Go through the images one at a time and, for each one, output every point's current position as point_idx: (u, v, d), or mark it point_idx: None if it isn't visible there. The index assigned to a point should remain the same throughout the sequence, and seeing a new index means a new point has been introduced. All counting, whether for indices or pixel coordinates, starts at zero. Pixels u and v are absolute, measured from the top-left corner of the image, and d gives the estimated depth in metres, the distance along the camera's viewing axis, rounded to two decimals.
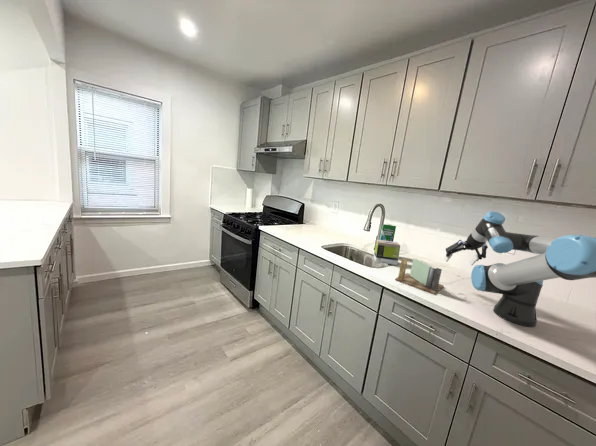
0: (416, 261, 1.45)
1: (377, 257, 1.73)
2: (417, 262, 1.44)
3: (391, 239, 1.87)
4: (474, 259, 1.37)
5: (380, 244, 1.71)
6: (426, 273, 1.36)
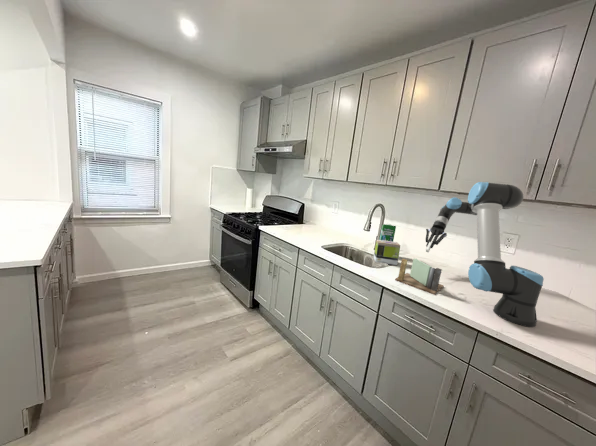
0: (416, 261, 1.45)
1: (377, 257, 1.73)
2: (417, 262, 1.44)
3: (391, 239, 1.87)
4: None
5: (380, 244, 1.71)
6: (426, 273, 1.36)
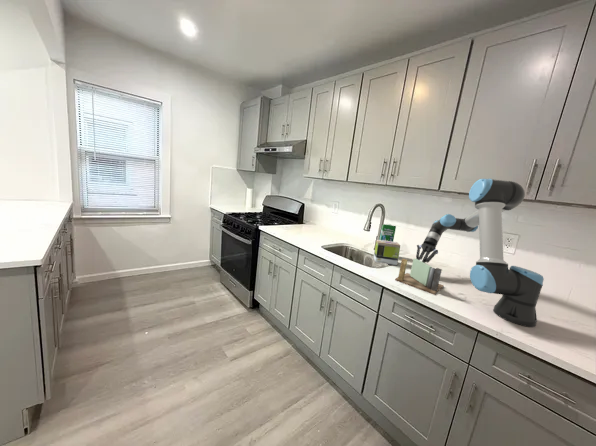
0: (416, 261, 1.45)
1: (377, 257, 1.73)
2: (417, 262, 1.44)
3: (391, 239, 1.87)
4: None
5: (380, 244, 1.71)
6: (426, 273, 1.36)
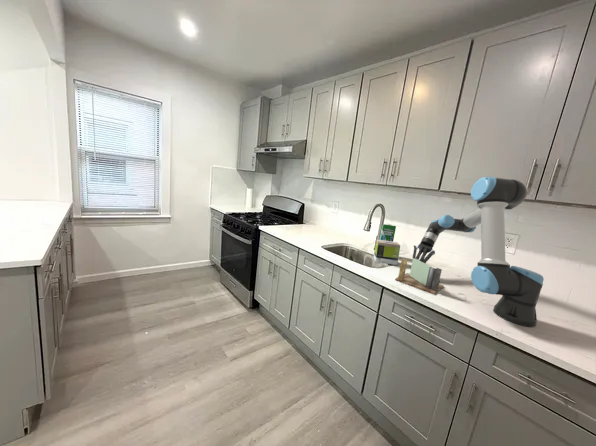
0: (416, 261, 1.45)
1: (377, 257, 1.73)
2: (417, 262, 1.44)
3: (391, 239, 1.87)
4: None
5: (380, 244, 1.71)
6: (426, 273, 1.36)
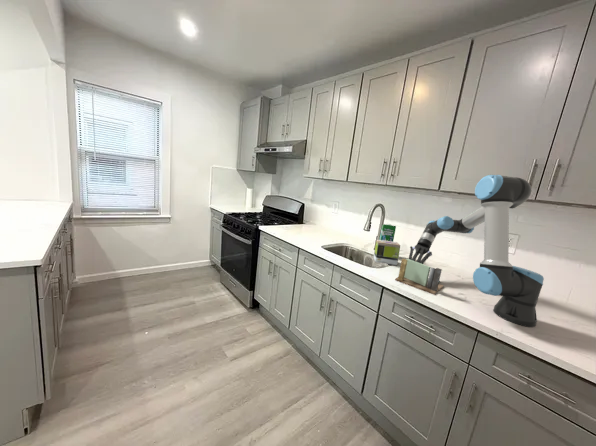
0: (410, 261, 1.43)
1: (377, 257, 1.73)
2: (411, 262, 1.42)
3: (391, 239, 1.87)
4: None
5: (380, 244, 1.71)
6: (425, 273, 1.35)
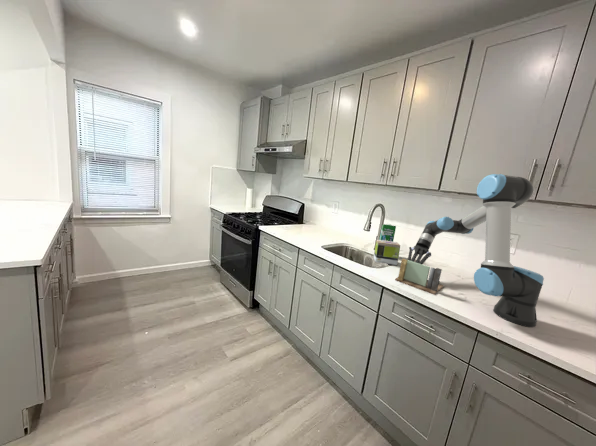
0: (408, 262, 1.41)
1: (377, 257, 1.73)
2: (410, 263, 1.40)
3: (391, 239, 1.87)
4: None
5: (380, 244, 1.71)
6: (425, 274, 1.35)
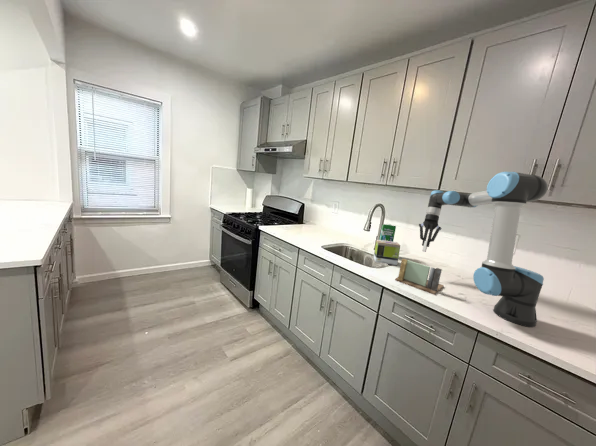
0: (408, 262, 1.41)
1: (377, 257, 1.73)
2: (410, 263, 1.40)
3: (391, 239, 1.87)
4: None
5: (380, 244, 1.71)
6: (425, 274, 1.35)
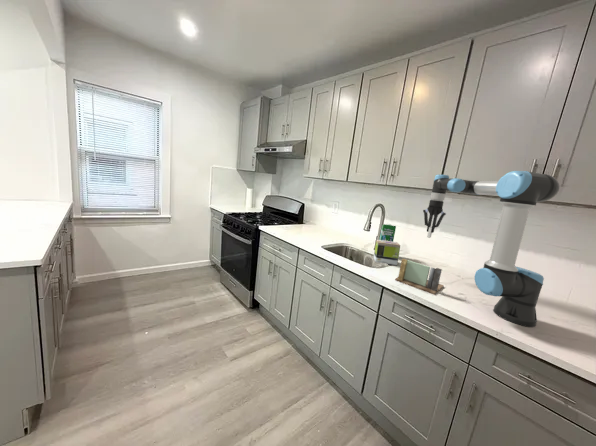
0: (408, 262, 1.41)
1: (377, 257, 1.73)
2: (410, 263, 1.40)
3: (391, 239, 1.87)
4: None
5: (380, 244, 1.71)
6: (425, 274, 1.35)
